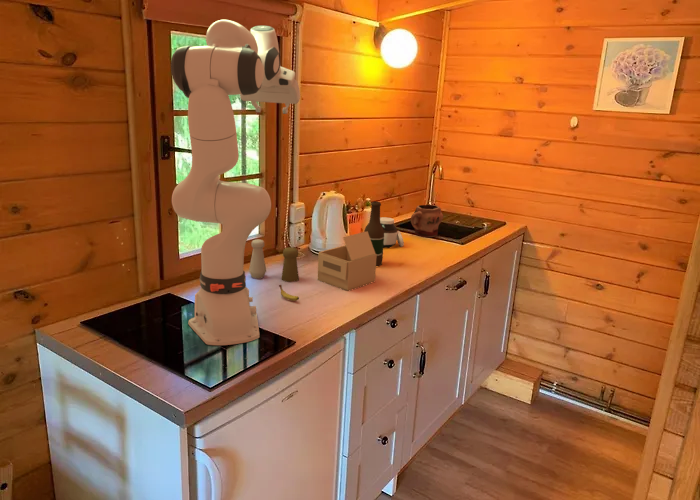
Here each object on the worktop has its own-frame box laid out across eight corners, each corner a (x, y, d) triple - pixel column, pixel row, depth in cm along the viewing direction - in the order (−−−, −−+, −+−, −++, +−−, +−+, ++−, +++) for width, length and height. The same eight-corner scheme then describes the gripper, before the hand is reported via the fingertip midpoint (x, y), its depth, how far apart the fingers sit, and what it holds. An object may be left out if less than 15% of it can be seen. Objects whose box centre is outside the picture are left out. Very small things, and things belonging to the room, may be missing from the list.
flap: (342, 237, 178) (343, 237, 178) (366, 231, 187) (367, 231, 187) (350, 260, 178) (351, 260, 177) (374, 253, 186) (375, 253, 186)
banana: (277, 297, 172) (277, 285, 171) (281, 295, 173) (281, 284, 172) (296, 304, 167) (297, 292, 166) (300, 302, 169) (300, 290, 167)
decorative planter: (422, 242, 242) (425, 211, 238) (400, 236, 250) (402, 206, 246) (447, 235, 257) (450, 206, 253) (426, 229, 264) (428, 201, 260)
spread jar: (369, 243, 236) (371, 217, 232) (389, 240, 242) (391, 215, 239) (387, 251, 227) (389, 223, 223) (408, 247, 233) (410, 221, 230)
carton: (314, 280, 188) (315, 252, 186) (344, 270, 200) (346, 244, 197) (346, 291, 179) (347, 262, 176) (376, 281, 190) (377, 253, 188)
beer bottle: (374, 259, 214) (378, 199, 207) (386, 265, 208) (390, 203, 201) (357, 262, 210) (361, 200, 203) (369, 268, 204) (373, 204, 197)
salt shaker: (262, 280, 185) (262, 243, 182) (246, 278, 186) (246, 241, 183) (268, 274, 191) (268, 238, 187) (252, 273, 192) (253, 237, 188)
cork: (282, 282, 185) (282, 250, 182) (280, 276, 190) (280, 245, 187) (300, 281, 186) (300, 250, 183) (297, 275, 192) (298, 245, 189)
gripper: (234, 78, 179) (240, 115, 189) (296, 81, 178) (298, 118, 188) (239, 68, 184) (244, 105, 194) (299, 72, 182) (302, 109, 192)
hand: (271, 112), depth 191 cm, fingers open, 8 cm apart
